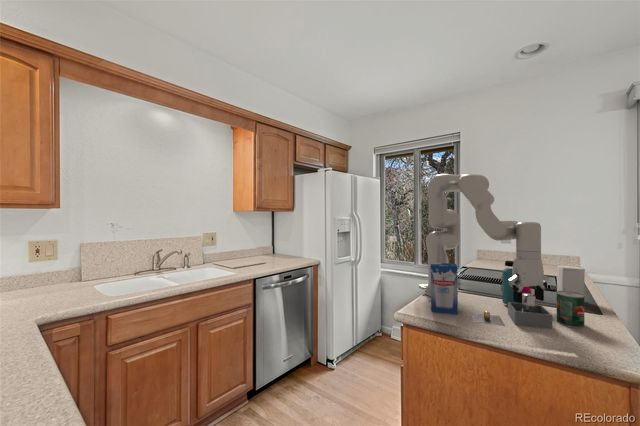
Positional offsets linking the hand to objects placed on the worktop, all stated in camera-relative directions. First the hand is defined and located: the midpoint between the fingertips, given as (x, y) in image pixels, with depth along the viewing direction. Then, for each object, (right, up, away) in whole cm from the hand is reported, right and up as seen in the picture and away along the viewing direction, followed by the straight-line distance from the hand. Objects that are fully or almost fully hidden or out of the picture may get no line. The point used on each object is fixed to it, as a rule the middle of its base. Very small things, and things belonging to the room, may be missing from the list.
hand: (528, 300), depth 106 cm
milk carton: (-26, -9, +12) cm, 30 cm away
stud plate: (-14, -9, +3) cm, 17 cm away
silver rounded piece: (0, -8, 0) cm, 8 cm away
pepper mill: (+14, -8, +24) cm, 29 cm away
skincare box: (+37, -8, +25) cm, 45 cm away
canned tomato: (+15, -8, -1) cm, 17 cm away
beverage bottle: (+5, -8, +17) cm, 20 cm away
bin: (0, -8, 0) cm, 8 cm away
